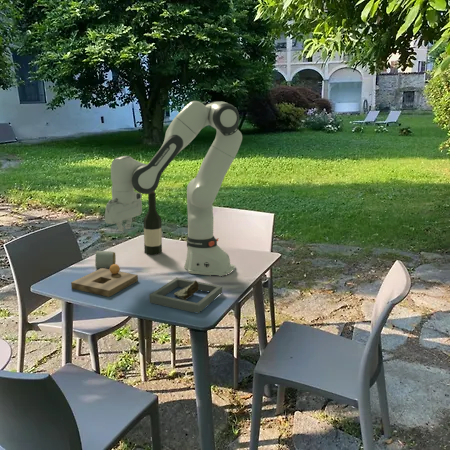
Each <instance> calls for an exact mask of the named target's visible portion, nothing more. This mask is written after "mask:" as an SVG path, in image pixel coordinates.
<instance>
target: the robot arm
mask: <svg viewBox="0 0 450 450" xmlns="http://www.w3.org/2000/svg"><path fill="white" fill-rule="evenodd" d="M239 122H240V114H239V111H238V109H237V108H236V107H235V106H234V105H233V104H231V103H228V102H225V101H218V100H217V101H216V100H214V101H210V102H208V103H206V104H204V103H203V102H201V101H199V100H192V101H190V102H189V103H188V104H186V105H185V106H184V107H183V108H182V109H181V110H180V111H179V113H178V112H177V114H176V116H175V117H173V120H172V121H171V122H170V124H169V125H168V127H167V129H166V131H165V135H164V139H163V140H164V141H163V143H162V145H161V147H160V148H159V150H158V151H157V152H156V153H155V155H153V157H152V158H151V159H150V161H149V162H148V163H144V162H141V161H139V160H137V159H134V158H133V157H132V156H130V155H122V156H118V157H116V158H114V159H113V160H112V162H111V164H110V180H111V185H112V186H111V199H110V200H108V202H107V203H106V204H105V212H104V221H105V223H106V224H107V225H114V224H115V225H116V226H117V228H118V229H117V230H118V232H121V233H122V232H124V231H125V230H129V229H131V227H132V226H131V224H132V222H133V218H135V217H137V216H141V214H142V212H143V205H142V198H143V197H142V196H143V195H148V194H149V193H152V192H153V191H155V190H157V188H158V186H159V184H160V179H161V178H162V174H163V173H164V172H165V171H166V169H167V168H168V166H169V165H170V164H171V163H172V161H173V160H174V159H175V158H176V156H177V155H179V153H180V152H181V151H183V150H184V149H185V148H186V147H188V145H189V144H191V143H192V141H193V140H194V139H195V138H196V137H197V136H198V134H200V132H201V130H202V129H204V128H205V127H207V126H209V127H211V128H212V129H214V130H216V134H215V138H214V140H213V142H212V144H211V145H210V147H209V148H208V150H207V152H206V154H205V156H204V158H203V160H202V162H201V164H200V167H199V169H198V172H197V174H196V176H195V177H194V178H192V179H191V180H190V181H189V182H188V183H187V186H186V203H187V204H186V205H187V236H186V247H187V251H186V252H187V253H186V258H185V262H184V267H183V268H184V269H185V270H186V271H187V273H188V274H192V275H194V274H195V275H204V276H211V275H219V276H218V277H221V276H222V275H226V274H228V273H230V272H231V271H232V270H234V268H235V269H236V265H235V264H232V263H231V258H230V255H229V254H228V253H227V252H226V251H225V250H224V249H222V248H221V247H220V246H219V245H218V241H219V238H216V237H215V236H214V213H213V211H214V209H213V204H214V203H215V200H216V197H217V196H218V193H219V192H220V190H221V186H222V184H223V181H224V179H225V176H226V174H227V173H228V171H229V169H230V167H231V165H232V163H233V162H234V160H235V158H236V156H237V154H238V152H239V149H240V147H241V144H242V142H243V134H242V132H241V131H240V130H239ZM123 221H125V222H126V224H124V226H123ZM234 271H235V270H234ZM226 276H227V275H226ZM222 277H223V276H222Z"/></svg>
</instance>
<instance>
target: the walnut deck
mask: <svg viewBox="0 0 450 450" xmlns="http://www.w3.org/2000/svg"><path fill="white" fill-rule="evenodd" d="M138 281H139V276H138V274H135V273H131V272H130V273H129V272H124V271H120V270H119V272H118V273H117V274H112V273H111V272H110V268H100V269H96V270H95V271H92V272H90V273H89V274H85V275H84V276H82V277H80V278H77V279H75V280H73V281H72V282H71V283H70V284H71V289H72V290H78V291H82V292H86V293H89V294H95V295H99V296H104V297H107V298H110V297H112V296H113V295H115V294H117V293H119V292H120V291H123V290H125V289H126V288H128V287H129V286H131V285H133V284H135V283H136V282H138Z"/></svg>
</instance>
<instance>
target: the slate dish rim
mask: <svg viewBox="0 0 450 450" xmlns="http://www.w3.org/2000/svg"><path fill="white" fill-rule="evenodd" d="M194 281H195V280H191V279H186V278H179V277H175V278H173V279H171V281H169V282H167V283H165V284H164V285H162V286H161V287H159V288H158V289H156V290H155V291H153V292H152V293H150V294H149V295H148V296H149V303H150V304H155V305H158V306H164V307H168V308H173V309H177V310H181V311H186V312H190V313H194V312H198V313H199V312H200V311H201V312H203V311H204V310H205V309H206V308H207V307H208V306H210V305H211V304H212V303H213V302H214V301H215V300H216V299H215V298H216V297H217V296H218V295H219V294H221V293H222V294H223V286H222V285H218V284H211V283H206V282H201V281H197V283H198V285H199V287H198V288H199V289H198V290H202V291H209V292H210V293H207V294H206V295H205V296H204V297H203V298H201V299H200V300H199V301H198V302H194V301H188V300H183V299H180V298H175V297H171V296H167V295H168V294H169V293H171V292H172V291H173V290H175V289H176V288H181V289H183V288H185V287H188V286H190V285H191V284H193V282H194ZM202 291H201V292H202ZM222 294H221V295H222ZM214 299H215V300H214ZM213 300H214V301H213ZM212 301H213V302H212ZM211 302H212V303H211ZM210 303H211V304H210ZM209 304H210V305H209ZM207 305H208V306H207ZM206 306H207V307H206ZM205 307H206V308H205ZM204 308H205V309H204ZM203 309H204V310H203ZM202 310H203V311H202ZM201 312H200V313H201ZM198 313H197V314H198ZM200 313H199V314H200Z"/></svg>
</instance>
